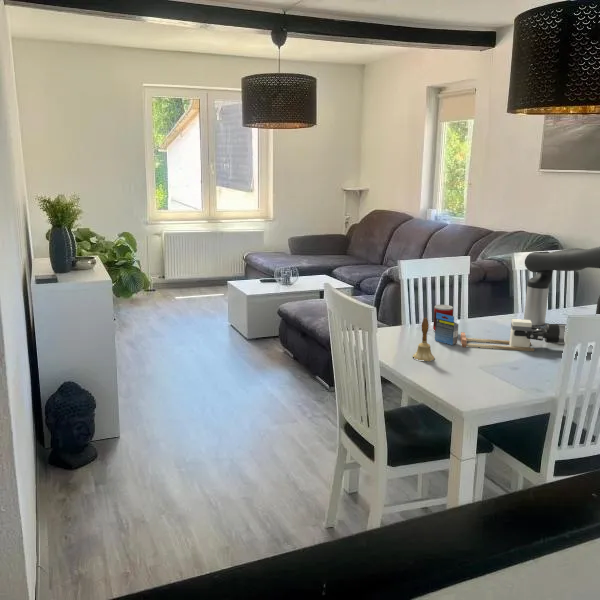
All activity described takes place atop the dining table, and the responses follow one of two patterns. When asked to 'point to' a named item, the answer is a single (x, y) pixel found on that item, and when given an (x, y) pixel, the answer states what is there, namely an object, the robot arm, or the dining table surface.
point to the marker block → (523, 326)
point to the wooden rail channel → (464, 344)
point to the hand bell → (424, 345)
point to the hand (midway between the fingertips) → (513, 331)
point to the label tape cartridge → (446, 329)
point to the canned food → (442, 312)
